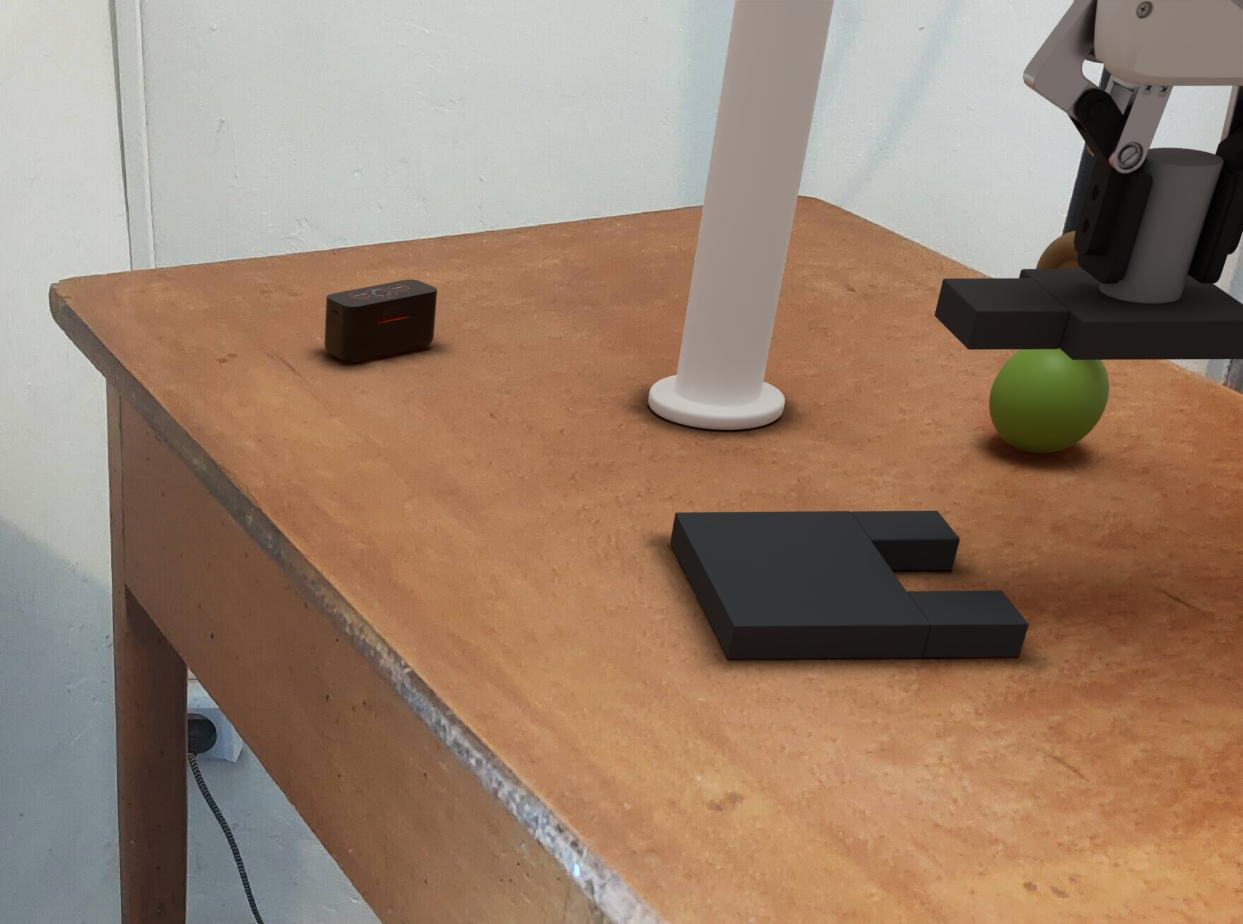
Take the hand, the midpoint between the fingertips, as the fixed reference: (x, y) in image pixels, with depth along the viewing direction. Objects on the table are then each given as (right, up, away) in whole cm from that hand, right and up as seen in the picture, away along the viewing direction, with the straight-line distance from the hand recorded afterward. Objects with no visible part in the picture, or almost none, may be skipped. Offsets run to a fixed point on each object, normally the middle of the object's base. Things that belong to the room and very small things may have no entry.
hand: (1146, 269), depth 74 cm
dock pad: (-9, -11, +8) cm, 17 cm away
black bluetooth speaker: (-26, +11, +36) cm, 46 cm away
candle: (-9, +4, +27) cm, 29 cm away
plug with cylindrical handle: (-2, -2, +2) cm, 3 cm away
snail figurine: (+6, 0, +21) cm, 22 cm away
